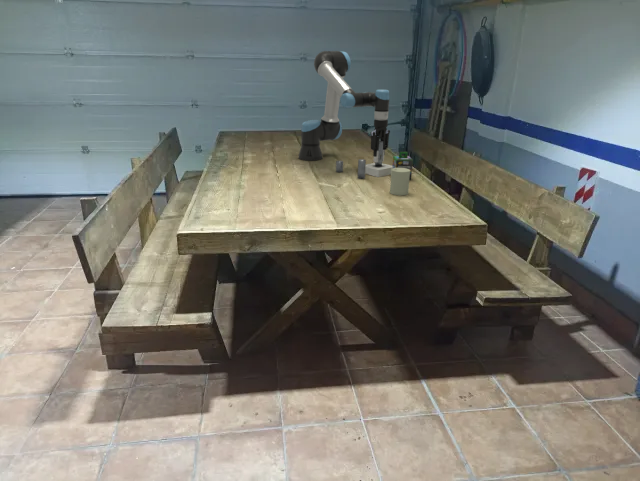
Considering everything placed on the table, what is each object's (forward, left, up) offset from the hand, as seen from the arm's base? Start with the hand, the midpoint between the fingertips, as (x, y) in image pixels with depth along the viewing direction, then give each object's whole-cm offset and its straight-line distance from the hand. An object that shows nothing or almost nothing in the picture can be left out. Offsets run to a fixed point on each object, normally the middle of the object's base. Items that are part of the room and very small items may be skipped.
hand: (378, 161), depth 274 cm
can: (+35, -21, -7) cm, 41 cm away
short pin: (-15, -16, -7) cm, 23 cm away
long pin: (0, 0, -5) cm, 5 cm away
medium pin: (+3, -16, -7) cm, 18 cm away
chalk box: (+16, +2, -7) cm, 18 cm away
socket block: (0, 0, -7) cm, 7 cm away
